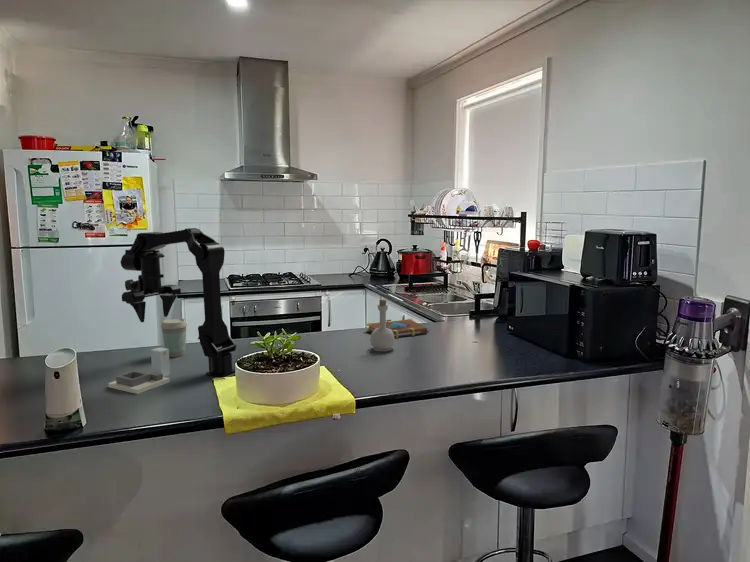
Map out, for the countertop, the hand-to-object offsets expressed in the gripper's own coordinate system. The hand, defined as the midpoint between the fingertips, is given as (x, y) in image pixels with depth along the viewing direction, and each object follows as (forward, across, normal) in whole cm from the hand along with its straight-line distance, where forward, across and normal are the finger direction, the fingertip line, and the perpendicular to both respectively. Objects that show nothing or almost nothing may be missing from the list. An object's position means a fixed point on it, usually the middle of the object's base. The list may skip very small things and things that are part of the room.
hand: (154, 319), depth 173 cm
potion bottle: (+15, -48, +59) cm, 77 cm away
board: (+14, +18, +14) cm, 27 cm away
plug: (+14, +9, +12) cm, 21 cm away
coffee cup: (+14, -9, -1) cm, 17 cm away
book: (+16, -74, +54) cm, 93 cm away
